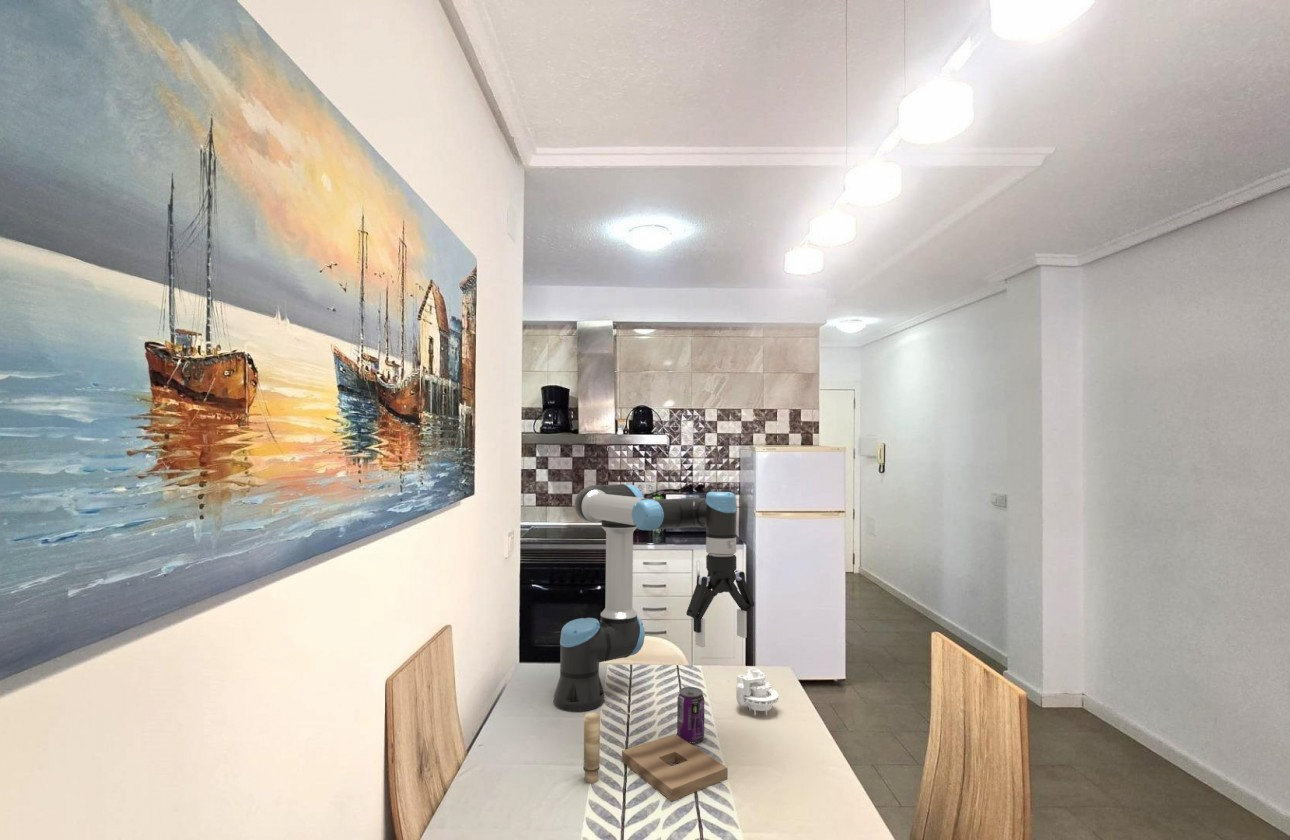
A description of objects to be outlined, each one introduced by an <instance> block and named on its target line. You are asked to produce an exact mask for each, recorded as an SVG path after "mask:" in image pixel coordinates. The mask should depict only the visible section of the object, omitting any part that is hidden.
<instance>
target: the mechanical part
mask: <svg viewBox="0 0 1290 840" xmlns="http://www.w3.org/2000/svg"><path fill="white" fill-rule="evenodd" d="M736 680H737V681H736V688H735V689H736V692H735V693H736V695H735V696H736V701H737V704H738V706H739V707H742V706H743V707H748V712H751V711H752V710H753V715H754V716H755V717H756V716H757V711H758V712H759V711H760V712H762V711H764V713H765V717H767V716H768V712H769V711H770V710H771V709H772V708H773V705H774V704H776V703H778V702H779V693H778V691H776V690H775V689H772V684H771V682H768V681H767V680H766V674H764V672H763V671H761V669H759V668H755V667H752V668H751V667H750V668H749V669H747V670H746V674H745V675H744V674H738V675H737V676H736Z"/></svg>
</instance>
